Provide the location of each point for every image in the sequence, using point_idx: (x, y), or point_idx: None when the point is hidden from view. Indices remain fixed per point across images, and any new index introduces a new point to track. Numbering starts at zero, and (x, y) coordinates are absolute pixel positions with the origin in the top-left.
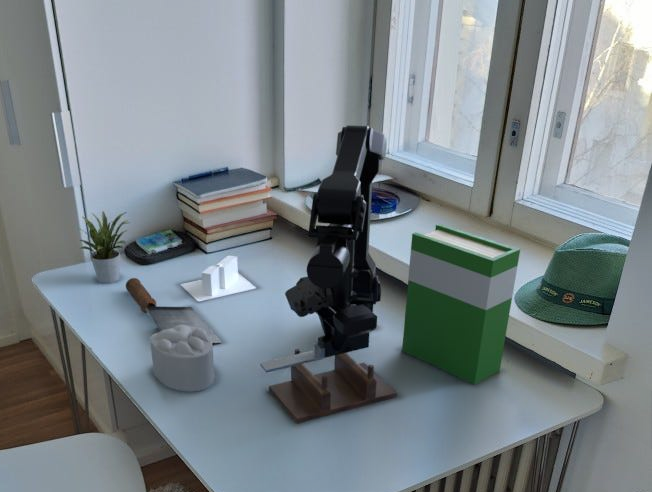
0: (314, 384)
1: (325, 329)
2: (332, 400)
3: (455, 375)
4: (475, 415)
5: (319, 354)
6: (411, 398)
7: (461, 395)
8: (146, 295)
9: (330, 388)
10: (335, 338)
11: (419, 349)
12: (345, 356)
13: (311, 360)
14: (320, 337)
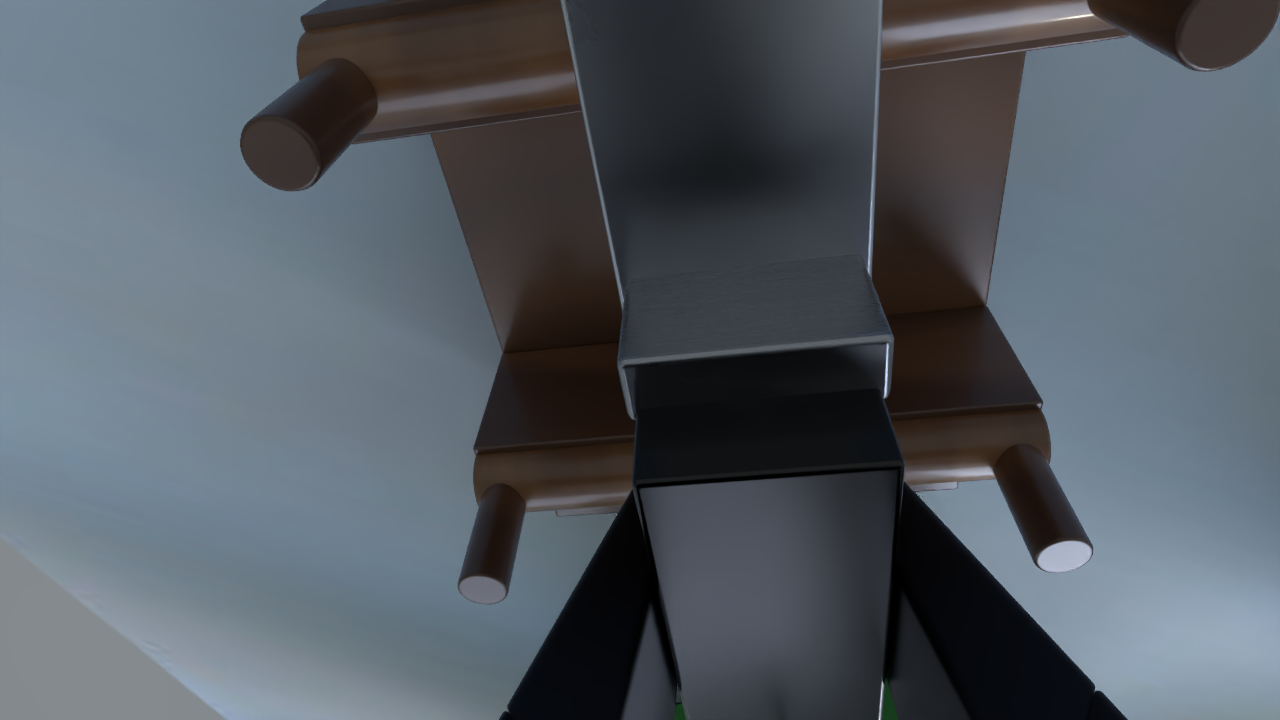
0: (495, 17)
1: (945, 680)
2: (550, 143)
3: None
4: (350, 658)
5: (670, 285)
6: (530, 536)
7: (510, 672)
8: None
9: None
10: (514, 700)
11: (887, 713)
12: None
13: (582, 110)
14: (870, 498)
